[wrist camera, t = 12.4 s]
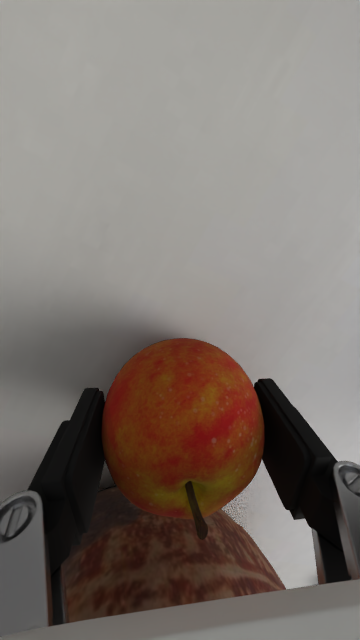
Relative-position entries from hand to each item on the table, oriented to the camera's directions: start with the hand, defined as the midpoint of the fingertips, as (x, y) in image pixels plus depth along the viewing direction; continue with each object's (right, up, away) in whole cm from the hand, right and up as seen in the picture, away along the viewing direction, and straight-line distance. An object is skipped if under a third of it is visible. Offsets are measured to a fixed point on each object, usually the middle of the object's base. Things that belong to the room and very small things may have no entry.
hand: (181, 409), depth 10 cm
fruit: (0, +1, +3) cm, 3 cm away
